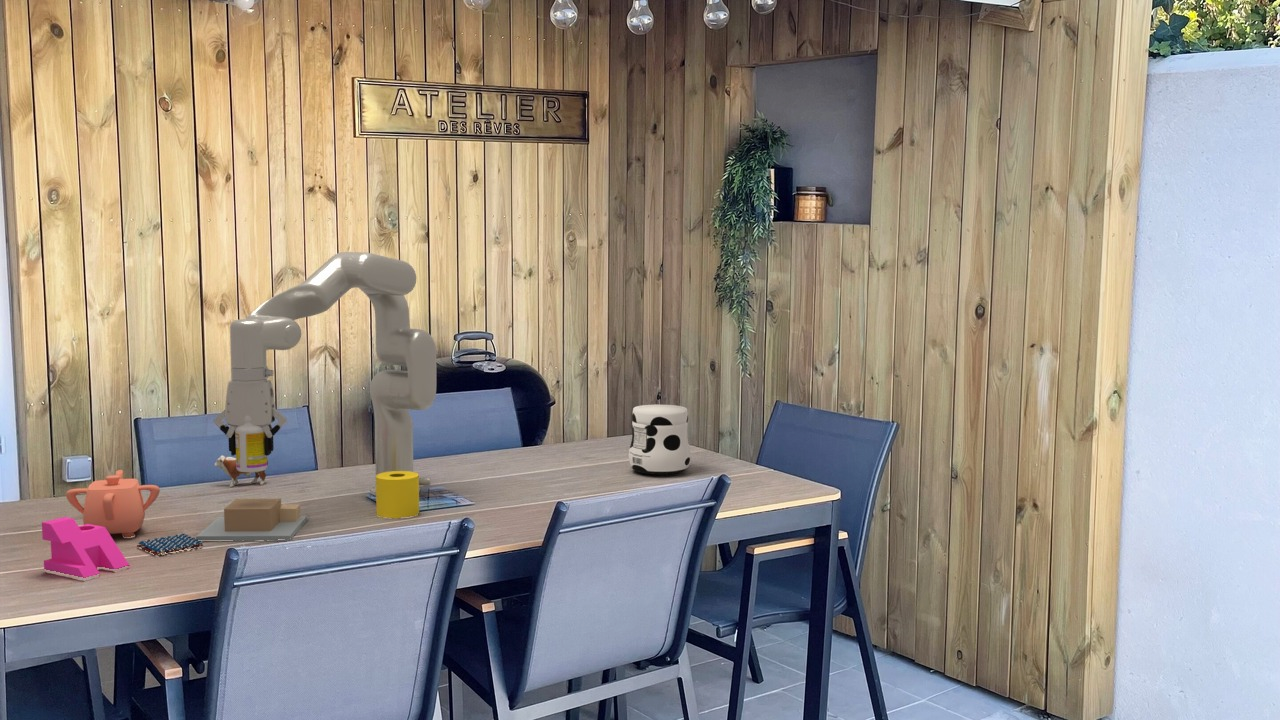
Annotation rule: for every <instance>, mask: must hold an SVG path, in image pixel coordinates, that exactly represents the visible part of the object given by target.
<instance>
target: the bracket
mask: <svg viewBox="0 0 1280 720" xmlns="http://www.w3.org/2000/svg"><path fill="white" fill-rule="evenodd" d="M41 532H42V533H41V534H42V540H43V541H49V542H50V557H51V558H48V559H45V560H43V570H44V569H46V570H50V571H56V572H60V573H64V574H69V575H74V576H78V577H83V578H86V577H89V576H93V575H97V574H100V575H101V573H100V571H99V570H97V567H105V568H109V569H119V568H122V567H125V566H129V567H130V563H129V561H127V559H126V558H125V556H124V555H123V552H122V551H121V550H120V548H119V547H118V545H117V543H116V542H115V540H114V539H113V537H112V536H111V534H109V533H108V531H107V529H106V528H105V527H102V526H97V525H92V524H85V525H84V524H82V525H78V523H77V522H76V520H75V519H74V518H73V517H68V516H64V517H58V518H55V519H51V520H46V521H42V522H41Z"/></svg>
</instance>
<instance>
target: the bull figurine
mask: <svg viewBox="0 0 1280 720" xmlns="http://www.w3.org/2000/svg"><path fill="white" fill-rule="evenodd" d="M213 465H214V467H218V468H220V469H221V470H223V472H224V473H225V474H226V475H227V476H228V477H229V478H231V482H230V485H228V488H233V487H235V486H238V484H239V479H238V477H239V476H246V477H247V478H250V477H251V475H252V474H254V473H255V476H254V479H253V480H252V481H251V482H250V484H252V483H254V484H255V483H257V482H258V480H259V478H260V479H261V481H260V483H259V485H260V486H263V485H264V484H265V483H266V476H267V474H266V472H265V471H266V469H265V470H263V471H259V472H240V471H238V470H237V469H236V457H234V456H225V455H220V457H218V458H217V459H216V461H215V463H214V464H213ZM268 466H269V461H268V459H267V467H268Z"/></svg>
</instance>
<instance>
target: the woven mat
mask: <svg viewBox="0 0 1280 720" xmlns="http://www.w3.org/2000/svg"><path fill="white" fill-rule="evenodd" d="M203 544H204V542H201V541H198V539H196V537H192V536H190V535H188V534H185V533H181V534H175V535H172V536H171V535H167V536H165V537H162V536H161V537H158V538H157V537H155V538H152V539H147V540H144V541H143V540H140V541H139V542H138V544H137V545H136V547H137V548H139V547H141V548H142V549H143V550H146V551H148V552H150V551H151V553H153V554H154V555H156V554H161V553H162V554H165V552H166V553H169V552H176V551H179V550H184V549H185V548H187V549H191V548H194V547H202V548H203V547H204V545H203ZM173 549H174V550H173ZM194 549H195V548H194ZM143 550H142V551H143ZM184 551H185V550H184ZM176 553H177V552H176ZM169 554H170V553H169ZM154 555H153V556H154Z"/></svg>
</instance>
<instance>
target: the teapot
mask: <svg viewBox="0 0 1280 720" xmlns="http://www.w3.org/2000/svg"><path fill="white" fill-rule="evenodd" d="M123 474H124V471H123V469H118V470H116V472H115V474H113V475H106V476H105V477H104V478H105V479H101V480H99V479H98V480H94V481H92V482H91V483H90V484H89V485H88V487H85V488H84V487H83V488H72V489H69V490H67V491H66V493H65V498H66V500H67V501H68V503H69V504H70V505H71V506H72V507H74V508H75V510H77V511H78V512H79V513H80V514H82V515H83V516H82V521H83V522H82V523H83V524H82V525H85V524H92V525H97V526H102V527H105V528H106V529H107V531H108V533H109V534H110V535H115V534H121V536H124V537H131V536H134V535H135V536H136V534H135V533H134V532H137V531H138V530H140V529H141V527H143V525H144V524H143V523H144V521H145V517H146V516H145V515H146V514H145V513H146V510H147V509H149V508H150V506H151V505H153V503H154V502H155V501H156V500H157V498H158V496H159V495H160V492H161V489H160V487H159V486H158V485H155V484H142V485H140V484H139V480H138V479H137V478H124V475H123ZM142 491H149V492H150V494H149V497H148V498H147V500H146V502H145V503H144V498H143V493H142ZM78 494H85V497H84V498H85V499H84V505H81V503H80V502H79V500H78V498H77V495H78Z"/></svg>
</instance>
